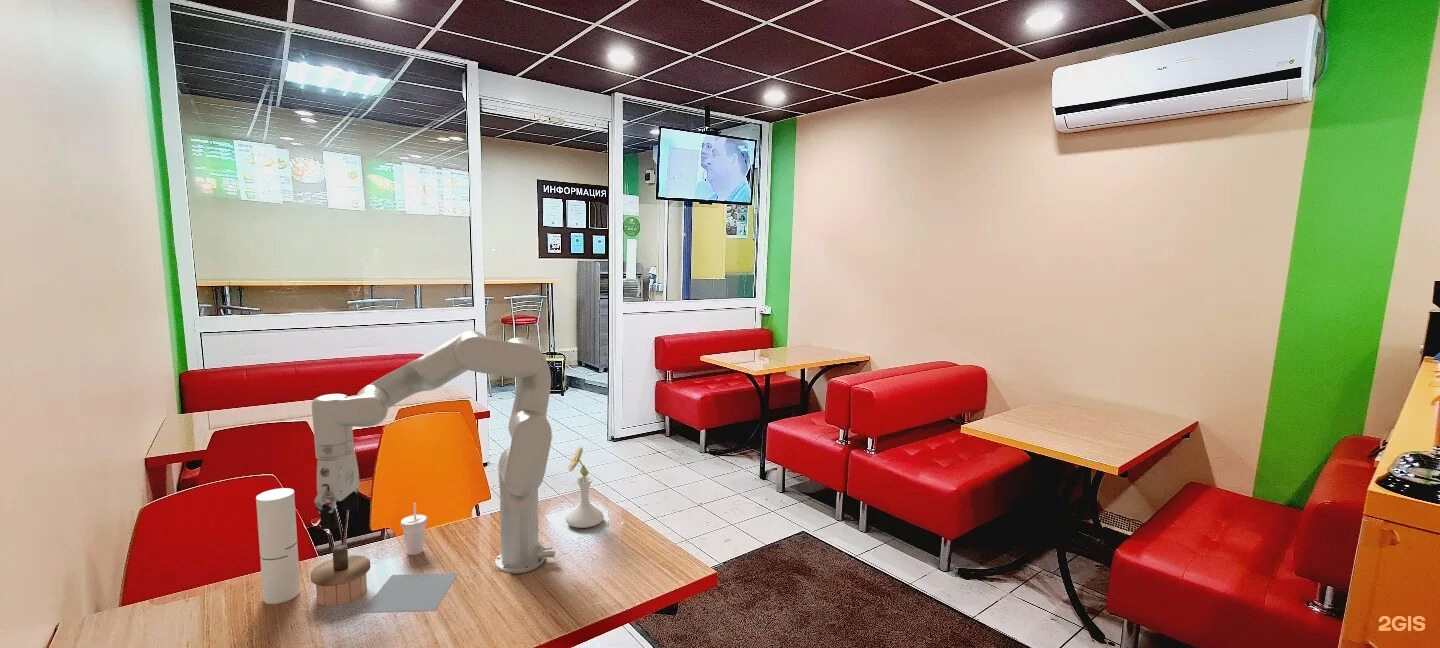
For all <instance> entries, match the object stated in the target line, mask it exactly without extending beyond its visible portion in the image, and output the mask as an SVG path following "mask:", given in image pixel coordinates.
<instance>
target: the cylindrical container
mask: <svg viewBox="0 0 1440 648" xmlns="http://www.w3.org/2000/svg"><path fill="white" fill-rule="evenodd" d="M255 502H256V503H255V504H256V515H257V516H256V517H257V530H258V531H257V532H258V544H259V557H260V571H261V572H260V574H261V585H262V587H261V588H262V599H263V600H262V601H263V603H265V604H267V605H276V604H281V603H282V604H283V603H286V602H289V601H290V600H292V599H293V600H294V598H296V597H297V596H298V595H299V594H300V593H301V581H300V566H299V564H300V563H299V550H298V548H299V547H298V534H297V516H296V515H297V514H296V502H295V490H294V489H293V488H288V487H287V488H286V487H284V488H283V487H280V488H274V489H270V490H266V491H263V492H261V493H259V494H257V495H256V497H255Z"/></svg>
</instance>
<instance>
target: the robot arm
mask: <svg viewBox="0 0 1440 648" xmlns="http://www.w3.org/2000/svg"><path fill="white" fill-rule="evenodd" d="M468 371H471V372H476V373H481V374H485V375H493V376H500V377H501V376H502V377H507V378H516V388H515V389H516V390H515V394H514V401H513V404H512V410H511V414H510V417H509V422H508V432H509V435H510V437H511V442H510V446H509V447H507V448H506V449H505V450H503V452H502V453H501V455H500V457H499V460H498V464H497V465H498V466H497V471H498V484H499V485H498V486H499V519H500V521H499V522H500V523H499V524H500V529H499V530H500V533H499V534H500V553H499V554H498V555H497V557H496V558H495V559H494V567H495V568H496V569H497V570H499V571H500V572H503V573H508V574H510V575H516V574H518V575H519V574H525V573H529V572H532V571H534V570H536V569H537V568H540V566H542V564H543V563H544V562H545V560H546V559H545V558H555V557H556V549H553V546H550V545H548V546H544V545H542V540H539V488H540V486H541V485H542V483H543V481H544V477H545V473H546V468H547V465H548V460H549V455H550V450H551V446H552V445H551V444H552V436H553V433H552V426H551V424H550V422H549V420H548V418H547V414H548V413H547V412H548V407H549V401H550V400H549V399H550V396H551V389H552V388H551V387H552V376H551V369H550V365H549V363H548V361H547V359H546V356H545V355H544V354H543V352H542V350H540V349H539V347H537V346H536V345H535V344H534V342H532V341H530V340H529V339H527V338H526V337H525V338H524V337H520V336H519V337H518V336H516V337H512V338H510V339H509V340H500V339H494V338H491V337H486V335H484V333H481V332H479V331H477V330H467V331H464V332H462V333H460V334H458V335H456V336H454V337H453V338H452V339H449V340H448V341H446V342H444V343H443V344H441V345H439V346H437V347H436V348H434V349H432V350H430V351H429V352H427V353H425V354H423V355H421V356H420V357H418V358H416V359H414V360H411V361H409V362H407V364H404V365H403V366H400V367H399V368H396V369H394V370H392V371H391V372H389V373H386V374H385V375H383V376H382V377H380V378H378V379H376V380H374V381H373V382H371V383H370V384H367V385H366V386H364V387H362V388H361V389H360V390H359V391H358V392H357V394H356V395H355V396H354V397H349V396H348V395H347V394H343V393H331V394H330V393H329V394H323V395H320V396H318V397H315V398H314V399H313V400H312V401H311V416H312V425H313V439H314V450H315V458H316V459H317V460H316V461H317V462H316V463H317V465H316V491H317V495H316V496H315V499H314V502H313V503H314V505H315V507H316V510H317V511H318V512H317V513H318V514H319V517H320V528H321V530H335V529H337V528H338V519H337V511H336V510H335V507H336V504H337V502H341V501H342V509H343V511H357V510H358V509H359V500H358V492H359V487H360V482H361V481H360V473H359V471H360V470H359V466H358V460H357V454H356V452H355V444H354V442H355V441H354V434H353V433H354V431H353V427H358V428H369V427H375V426H377V425H379V424H381V423H382V422H383V421H385V419H386V417H387V415H388V411H389V409H390V408H391V407H394V406H395V405H397V404H398V403H400V402H401V401H403V400H405V399H407V398H409V397H411V396H413V395H415V394H418V393H420V392H427V391H428V392H429V391H434V390H437V389H439V388H441V387H443V386H445V385H446V384H447V383H449V382H451V381H452V380H453V379H455V378H457V377H459V376H461V375H462V374H464V373H466V372H468ZM327 503H330V504H329V505H328V504H327Z"/></svg>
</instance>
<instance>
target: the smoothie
mask: <svg viewBox="0 0 1440 648" xmlns="http://www.w3.org/2000/svg"><path fill="white" fill-rule="evenodd" d="M416 503H417V502H414V503H413V514H412V515H408V516H406V517H404V518H402V519H401V520H400V526H401V527H402V532H403V537H404V541H405V542H404V543H405V548H406V553H407V555H408V556H410V555H411V556H417V555H419V554H421V553H422V552H423V551H424V545H425V534H426V526H427V525H426V524H427V522H428V516H427V515H424V514H417V504H416Z"/></svg>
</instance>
